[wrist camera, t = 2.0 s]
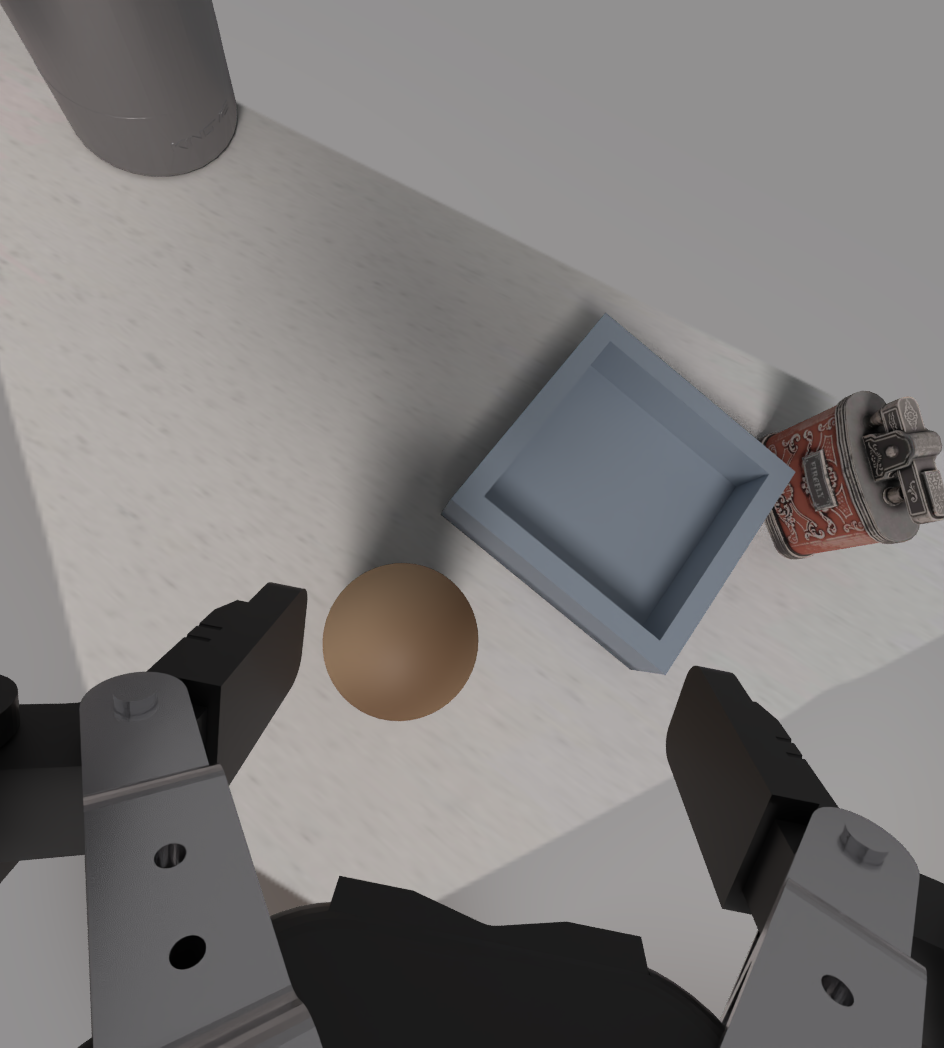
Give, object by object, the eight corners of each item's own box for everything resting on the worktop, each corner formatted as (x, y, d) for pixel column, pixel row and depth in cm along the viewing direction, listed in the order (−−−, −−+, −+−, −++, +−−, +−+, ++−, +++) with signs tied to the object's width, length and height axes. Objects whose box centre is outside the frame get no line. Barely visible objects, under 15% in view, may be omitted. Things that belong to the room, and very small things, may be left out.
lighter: (743, 439, 37) (876, 372, 28) (789, 434, 38) (934, 367, 28) (773, 563, 36) (923, 538, 26) (819, 555, 37) (982, 528, 27)
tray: (440, 514, 33) (450, 499, 29) (579, 346, 36) (605, 312, 32) (630, 669, 33) (665, 674, 29) (750, 488, 37) (795, 471, 33)
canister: (317, 644, 30) (288, 654, 19) (382, 567, 32) (391, 532, 20) (395, 706, 30) (413, 754, 19) (455, 627, 32) (507, 626, 20)
